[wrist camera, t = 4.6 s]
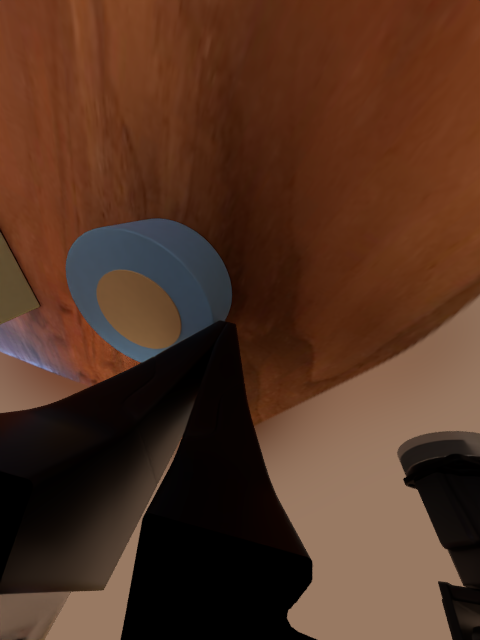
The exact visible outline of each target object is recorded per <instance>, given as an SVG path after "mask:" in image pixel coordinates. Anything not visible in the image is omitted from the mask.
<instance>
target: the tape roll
mask: <svg viewBox="0 0 480 640" xmlns="http://www.w3.org/2000/svg"><path fill="white" fill-rule="evenodd" d="M66 277H67V282H68V286H69V289H70V292H71V295H72V297H73V299H74V302H75V304H76V305H77V307H78V309H79V311H80V312H81V314H82V315H83V317H84V318H85V319H86V321H87V322H88V323H89V324H90V326H91V327H92V328H93V329H94V330H95V331H96V332H97V333H98V334H99V335H100V336H101V337H102V338H103V339H104V340H105V341H106V342H108V343H109V344H110V345H111V346H113V347H114V348H115V349H117V350H118V351H120V352H121V353H123V354H125V355H126V356H128V357H130V358H132V359H134V360H136V361H139V362H141V363H142V362H144V361H146V360H148V359H150V358H151V357H153V356H154V357H155V355H157V354H159V353H161V352H162V351H164V350H166V349H168V348H170V347H172V346H173V345H175V344H177V343H179V342H181V341H183V340H184V339H186V338H188V337H190V336H192V335H193V334H195V333H197V332H199V331H201V330H203V329H204V328H206V327H208V326H210V325H212V324H214V323H215V322H217V321H219V320H222V321H225V319H226V317H227V315H228V313H229V310H230V307H231V303H232V287H231V282H230V277H229V275H228V272H227V269H226V267H225V265H224V263H223V261H222V259H221V258H220V256H219V254H218V253H217V252H216V250H215V249H214V248H213V247H212V245H211V244H210V243H209V242H208V241H207V240H206V239H205V238H203V237H202V236H201V235H200V234H198V233H197V232H196V231H194V230H192V229H191V228H189V227H187V226H185V225H183V224H181V223H179V222H175V221H172V220H168V219H161V218H156V219H146V220H140V221H135V222H129V223H123V224H117V225H112V226H106V227H101V228H96V229H92V230H90V231H88V232H85V233H84V234H83V235H81V236H80V237H79V238H77V240H76V241H75V242H74V243H73V244H72V246H71V248H70V250H69V252H68V256H67V260H66Z"/></svg>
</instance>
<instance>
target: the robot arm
mask: <svg viewBox="0 0 480 640" xmlns="http://www.w3.org/2000/svg"><path fill="white" fill-rule="evenodd" d="M182 435H183V437H182ZM181 437H182V439H181ZM180 439H181V442H180V445H179V448H178V450H177V453H176V455H175V458H174V460H173V462H172V464H171V466H170V468H169V470H168V472H167V474H166V476H165V477H164V479H163V481H162V483H161V485H160V487H159V489H158V490H157V492H156V494H155V496H154V498H153V500H152V502H151V504H150V506H149V507H148V509H147V511H146V513H145V515H144V517H143V520H142V525H141V531H140V536H139V542H138V547H137V553H136V559H135V564H134V570H133V575H132V581H131V587H130V592H129V598H128V603H127V609H126V614H125V620H124V625H123V630H122V635H121V640H316V639H314V638H312V637H309V636H307V635H305V634H302V633H300V632H298V631H296V630H295V629H294V628H292V627H291V626H290V624H289V622H288V620H287V613H288V610H289V609H290V608H291V607H292V606H293V605H294V603H296V602H297V601H298V599H299V598H300V596H301V595H302V594H303V593H304V591H305V590H306V589H307V587H308V586H309V585H310V583H311V582H312V560H311V558H310V557H309V555H308V553H307V551H306V549H305V548H304V546H303V544H302V542H301V540H300V538H299V536H298V534H297V533H296V531H295V529H294V527H293V525H292V523H291V522H290V520H289V518H288V516H287V514H286V512H285V511H284V509H283V507H282V505H281V503H280V501H279V499H278V497H277V495H276V493H275V491H274V488H273V486H272V483H271V481H270V478H269V475H268V472H267V469H266V466H265V463H264V459H263V456H262V452H261V449H260V445H259V443H258V439H257V436H256V432H255V428H254V425H253V422H252V418H251V414H250V410H249V406H248V401H247V395H246V389H245V383H244V376H243V370H242V363H241V356H240V349H239V342H238V335H237V328H236V324H233V323H229V322H226V321H222V320H219V321H217V322H215V323H214V324H212V325H210V326H208V327H206V328H204V329H203V330H201V331H199V332H197V333H195V334H193V335H192V336H190V337H188V338H186V339H184V340H183V341H181V342H179V343H177V344H175V345H173V346H172V347H170V348H168V349H166V350H164V351H162V352H161V353H159V354H157V355H155V357H154V356H153V357H151V358H150V359H148V360H146V361H144V362H142V363H140V364H138V365H136V366H134V367H132V368H131V369H129V370H126V371H124V372H122V373H120V374H118V375H116V376H114V377H111V378H109V379H107V380H105V381H102V382H100V383H98V384H96V385H93V386H91V387H89V388H87V389H84V390H82V391H80V392H78V393H75V394H73V395H71V396H69V397H67V398H64V399H62V400H59V401H57V402H54V403H51V404H48V405H45V406H41V407H38V408H33V409H29V410H22V411H14V412H6V413H0V640H45V638H46V636H47V634H48V632H49V631H50V629H51V627H52V625H53V623H54V622H55V620H56V618H57V616H58V614H59V613H60V611H61V609H62V607H63V605H64V604H65V602H66V600H67V598H68V596H69V595H70V593H71V591H96V590H97V591H98V590H104V588H105V586H106V584H107V582H108V580H109V578H110V577H111V575H112V573H113V571H114V569H115V567H116V565H117V563H118V561H119V559H120V557H121V555H122V553H123V551H124V549H125V547H126V545H127V543H128V541H129V539H130V537H131V535H132V533H133V532H134V530H135V528H136V526H137V524H138V522H139V520H140V518H141V516H142V514H143V512H144V510H145V508H146V506H147V504H148V502H149V500H150V498H151V496H152V494H153V492H154V490H155V488H156V486H157V484H158V482H159V480H160V478H161V476H162V475H163V472H164V470H165V469H166V467H167V465H168V463H169V461H170V458H171V457H172V455H173V453H174V451H175V449H176V447H177V445H178V443H179V441H180ZM403 480H404V483H405V485H406V486H408V487H411V488H414V489H417V490H418V492H419V494H420V496H421V499H422V501H423V503H424V506H425V508H426V510H427V513H428V515H429V517H430V519H431V522H432V524H433V527H434V529H435V531H436V533H437V536H438V538H439V540H440V543H441V544H442V546H443V547H444V548H445V549H448V551H449V554H450V556H451V558H452V561H453V563H454V565H455V567H456V570H457V572H458V574H459V577H460V579H461V581H462V583H463V586H465V587H461V586H454V585H451V584H449V583H447V582H440V581H439V582H438V584H439V587H440V591H441V595H442V598H443V599H442V603H443V606H444V610H445V613H446V617H447V621H448V624H449V628H450V631H451V635H452V639H453V640H480V459H476V458H473V457H469V456H466V455H463V454H450V455H448V456H446V457H444V458H442V459H440V460H438V461H436V462H434V463H432V464H430V465H428V466H426V467H425V468H423V469H421V470H419V471H417V472H415V473H413V474H411V475H409V476H407V477H405V478H404V479H403Z"/></svg>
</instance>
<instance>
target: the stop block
mask: <svg viewBox="0 0 480 640" xmlns="http://www.w3.org/2000/svg"><path fill="white" fill-rule="evenodd" d="M38 307H40V305H39V303H38V301H37V299H36V298H35V296H34V294H33V292H32V290H31V288H30V286H29V284H28V283H27V281H26V279H25V277H24V275H23V273H22V271H21V269H20V268H19V266H18V264H17V262H16V260H15V258H14V256H13V254H12V253H11V251H10V249H9V247H8V245H7V243H6V241H5V239H4V238H3V236H2V234H1V232H0V324H2V323H5V322H7V321H9V320H11V319H13V318H16V317H18V316H20V315H22V314H25V313H27V312H29V311H31V310H34V309H36V308H38Z"/></svg>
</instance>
